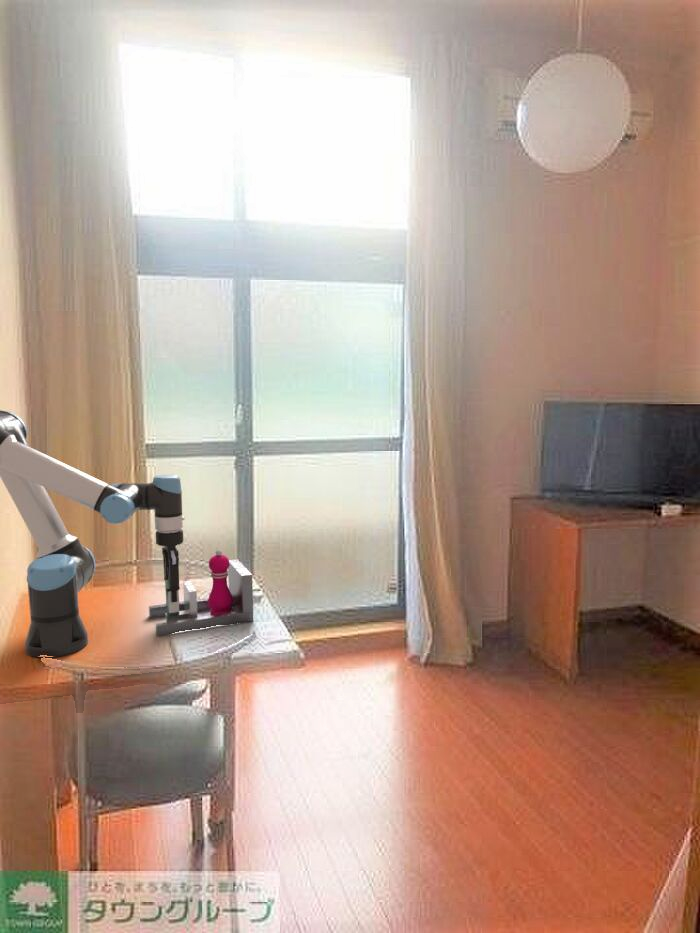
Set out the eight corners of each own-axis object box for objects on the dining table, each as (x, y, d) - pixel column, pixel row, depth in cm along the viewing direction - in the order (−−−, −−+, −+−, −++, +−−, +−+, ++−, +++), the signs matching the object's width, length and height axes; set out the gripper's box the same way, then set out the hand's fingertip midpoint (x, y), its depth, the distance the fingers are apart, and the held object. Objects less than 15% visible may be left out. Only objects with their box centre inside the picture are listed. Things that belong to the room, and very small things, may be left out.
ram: (169, 629, 188) (167, 586, 187) (163, 617, 198) (161, 576, 196) (197, 624, 192) (196, 582, 190) (191, 613, 201) (189, 572, 199)
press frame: (157, 636, 184) (154, 587, 182) (149, 616, 199) (146, 570, 197) (253, 621, 194) (252, 574, 192) (238, 602, 210) (237, 559, 208)
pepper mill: (236, 611, 202) (234, 546, 199) (229, 620, 195) (227, 553, 192) (212, 610, 203) (210, 546, 200) (205, 619, 196) (202, 553, 193)
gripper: (188, 535, 184) (191, 617, 187) (177, 522, 199) (181, 598, 202) (159, 538, 181) (163, 621, 184) (151, 524, 196) (155, 602, 199)
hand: (172, 609), depth 193 cm, fingers closed on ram, 4 cm apart
